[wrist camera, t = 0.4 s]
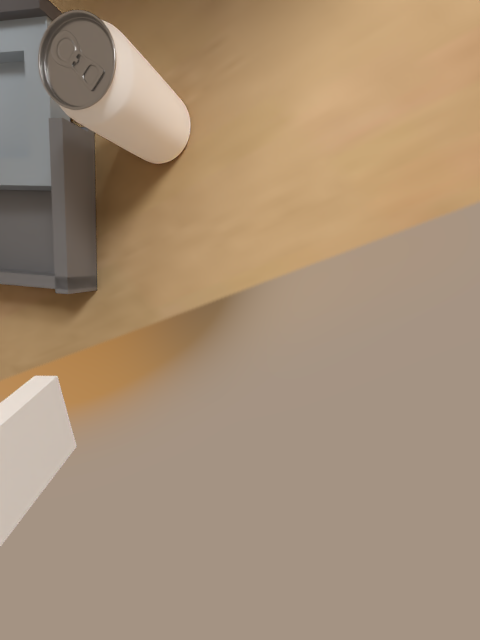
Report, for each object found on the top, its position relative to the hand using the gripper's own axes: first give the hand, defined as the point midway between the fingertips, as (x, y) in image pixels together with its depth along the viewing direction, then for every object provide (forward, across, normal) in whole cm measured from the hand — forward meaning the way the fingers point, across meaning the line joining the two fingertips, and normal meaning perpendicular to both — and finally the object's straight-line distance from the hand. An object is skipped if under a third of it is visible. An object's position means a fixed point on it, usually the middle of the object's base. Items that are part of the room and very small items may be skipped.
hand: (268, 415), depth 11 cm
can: (+28, -11, +12) cm, 32 cm away
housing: (+29, -27, +5) cm, 40 cm away
